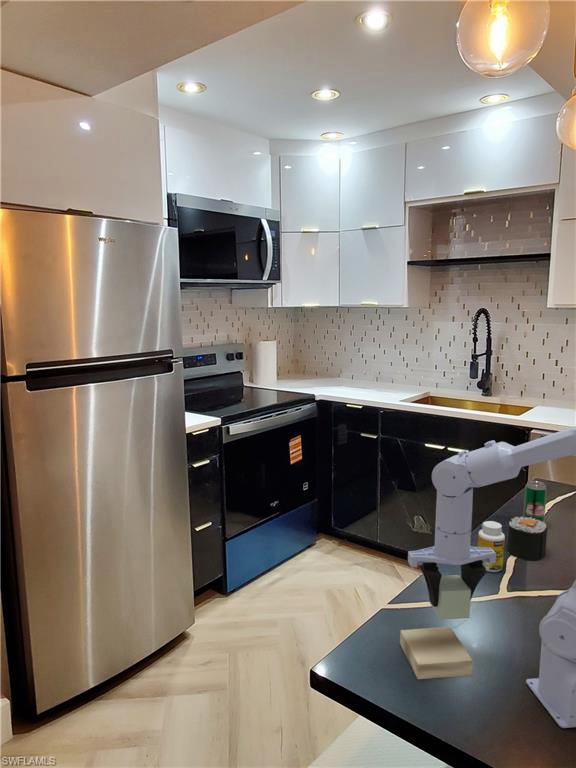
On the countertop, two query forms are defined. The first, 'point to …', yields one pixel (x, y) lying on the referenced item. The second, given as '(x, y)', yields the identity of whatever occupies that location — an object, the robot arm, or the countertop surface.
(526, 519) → the sushi
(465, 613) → the green cube
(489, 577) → the countertop surface
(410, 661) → the maple block
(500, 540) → the supplement bottle
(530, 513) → the soda can
